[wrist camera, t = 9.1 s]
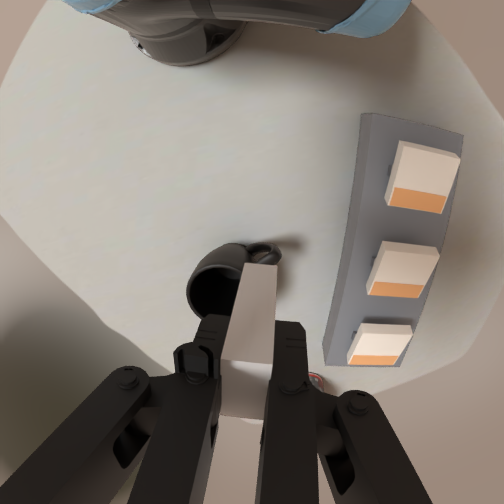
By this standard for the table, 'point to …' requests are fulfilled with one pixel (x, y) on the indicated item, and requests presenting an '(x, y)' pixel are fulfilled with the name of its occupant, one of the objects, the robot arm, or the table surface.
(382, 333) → the switch
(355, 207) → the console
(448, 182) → the switch
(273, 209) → the table surface
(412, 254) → the switch
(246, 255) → the mug
